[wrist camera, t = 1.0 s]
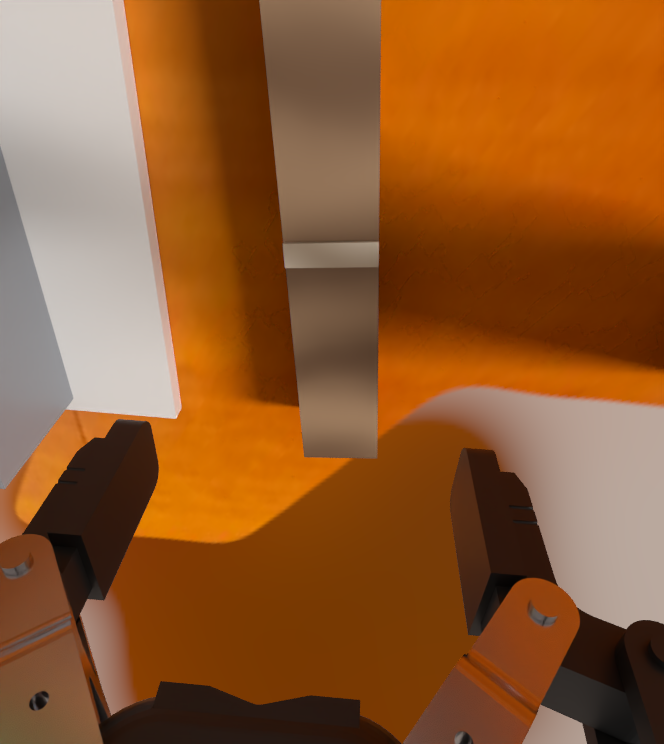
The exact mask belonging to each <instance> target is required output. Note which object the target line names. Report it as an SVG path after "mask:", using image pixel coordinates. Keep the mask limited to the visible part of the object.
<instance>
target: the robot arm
mask: <svg viewBox="0 0 664 744" xmlns="http://www.w3.org/2000/svg"><path fill="white" fill-rule="evenodd" d="M158 471H159V466H158V459H157V454H156V449H155V444H154V439H153V434H152V429H151V425H150V423H149V422H147V421H135V420H123V419H118V420H116V421H115V423H114V424H113V426H112V427H111V429H110V431H109V432H108V434H107V435H106V437H105V438H94V439H92V440H91V441H90V442H88V443H87V444H86V445H85V446H83V447H82V448H81V449H79V450H78V451H77V453H76V454H75V456H74V457H73V459H72V460H71V462H70V463H69V465H68V466H67V470H65V471H64V472H63V474H62V475H61V477H60V478H59V480H58V484H55V486H54V487H53V489H52V490H51V492H50V493H49V495H48V496H47V498H46V499H45V501H44V503H43V504H42V506H41V507H40V509H39V510H38V512H37V513H36V515H35V516H34V518H33V519H32V521H31V522H30V524H29V525H28V527H27V528H26V530H25V531H24V533H23V534H22V535H20V536H16V537H13V538H10V539H8V540H6V541H4V542H2V543H1V544H0V744H401V743H400V742H399V741H398V740H397V739H396V738H395V737H394V736H393V735H392V734H391V733H390V732H388V731H387V730H386V729H384V728H383V727H382V726H380V725H379V724H377V723H375V722H373V721H372V720H370V719H368V718H365V717H363V716H360V700H353V699H342V698H332V697H320V696H306V697H300V698H296V699H290V700H284V701H279V702H274V703H269V704H263V705H255V704H252V703H250V702H247V701H245V700H242V699H240V698H238V697H235V696H233V695H230V694H228V693H225V692H223V691H220V690H218V689H216V688H213V687H211V686H204V685H194V684H184V683H172V682H162V681H161V682H160V685H159V688H158V692H157V695H156V697H153V698H148V699H146V700H143V701H139V702H136V703H134V704H132V705H130V706H128V707H125V708H123V709H122V710H120V711H119V712H117V713H115V714H113V715H112V716H111V713H110V710H109V707H108V704H107V701H106V698H105V695H104V693H103V690H102V686H101V684H100V680H99V677H98V673H97V669H96V666H95V663H94V659H93V656H92V652H91V649H90V645H89V642H88V638H87V635H86V631H85V628H84V625H83V621H82V618H81V615H80V613H81V611H82V609H83V607H84V604H85V602H86V600H87V599H96V600H104V599H105V597H106V595H107V593H108V591H109V588H110V586H111V584H112V582H113V580H114V577H115V575H116V573H117V570H118V569H119V566H120V564H121V562H122V559H123V558H124V555H125V553H126V551H127V549H128V546H129V544H130V542H131V540H132V538H133V535H134V533H135V531H136V529H137V527H138V524H139V522H140V520H141V518H142V515H143V513H144V511H145V509H146V507H147V504H148V502H149V500H150V498H151V496H152V493H153V491H154V489H155V486H156V483H157V479H158ZM450 511H451V519H452V525H453V532H454V540H455V546H456V553H457V560H458V567H459V574H460V580H461V588H462V595H463V602H464V608H465V615H466V622H467V629H468V635H476V636H479V638H478V640H477V641H476V642H475V644H474V645H473V647H472V648H471V650H470V651H469V653H468V654H467V655H465V654H464V655H463V656H462V657H461V659H460V660H459V661H458V662H457V664H456V665H455V667H454V668H453V670H452V671H451V673H450V674H449V676H448V677H447V679H446V680H445V682H444V683H443V685H442V686H441V688H440V689H439V691H438V692H437V694H436V695H435V697H434V698H433V699H432V701H431V702H430V704H429V705H428V707H427V709H426V710H425V711H424V713H423V714H422V716H421V718H420V719H419V720H418V722H417V723H416V725H415V726H414V728H413V729H412V731H411V732H410V734H409V735H408V737H407V738H406V740H405V741H404V743H403V744H522V742H523V740H524V739H525V737H526V735H527V733H528V731H529V729H530V727H531V725H532V723H533V721H534V719H535V717H536V714H537V712H538V708H539V706H540V704H541V705H543V706H545V707H547V708H550V709H552V710H554V711H557V712H559V713H561V714H563V715H565V716H568V717H570V718H572V719H574V720H577V721H579V722H581V723H583V728H584V732H585V736H586V741H587V744H664V624H661V623H659V622H655V621H650V620H641V621H637V622H634V623H633V624H631V625H630V626H629V627H628V628H627V629H624V628H621V627H619V626H616V625H614V624H611V623H608V622H606V621H603V620H601V619H598V618H595V617H593V616H591V615H589V614H587V613H585V612H583V611H581V610H580V609H579V608H577V607H576V605H575V603H574V602H573V600H572V599H571V597H570V596H569V595H568V594H567V593H566V592H565V591H564V590H563V589H561V588H560V587H558V585H557V583H556V580H555V577H554V574H553V571H552V568H551V565H550V561H549V558H548V555H547V551H546V548H545V545H544V542H543V538H542V535H541V532H540V529H539V526H538V525H537V519H536V516H535V512H534V511H533V506H532V503H531V500H530V496H529V493H528V490H527V488H526V487H525V486H524V485H523V483H522V482H521V481H520V480H519V478H518V477H517V476H516V475H515V473H511V472H500V469H499V465H498V462H497V458H496V454H495V452H494V451H493V450H484V449H471V448H463V449H462V451H461V454H460V458H459V462H458V466H457V470H456V474H455V478H454V482H453V486H452V490H451V499H450Z"/></svg>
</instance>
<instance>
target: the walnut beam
mask: <svg viewBox="0 0 664 744" xmlns="http://www.w3.org/2000/svg"><path fill="white" fill-rule="evenodd" d="M259 3H260V13H261V24H262V34H263V44H264V54H265V64H266V74H267V84H268V94H269V104H270V115H271V125H272V135H273V145H274V155H275V165H276V175H277V185H278V195H279V206H280V216H281V226H282V236H283V254H284V264H285V268H286V276H287V287H288V297H289V307H290V317H291V327H292V337H293V347H294V357H295V367H296V378H297V388H298V398H299V408H300V418H301V428H302V438H303V448H304V457H327V458H377V415H378V296H379V178H380V60H381V0H259Z"/></svg>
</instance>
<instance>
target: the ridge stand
mask: <svg viewBox="0 0 664 744" xmlns="http://www.w3.org/2000/svg"><path fill="white" fill-rule="evenodd" d="M181 408H182V406H181V399H180V392H179V385H178V378H177V372H176V365H175V358H174V351H173V344H172V337H171V330H170V323H169V316H168V309H167V302H166V295H165V288H164V281H163V274H162V267H161V260H160V253H159V246H158V239H157V232H156V225H155V218H154V211H153V204H152V197H151V190H150V183H149V176H148V169H147V162H146V155H145V148H144V141H143V134H142V127H141V120H140V113H139V106H138V99H137V92H136V85H135V78H134V71H133V64H132V57H131V50H130V43H129V36H128V29H127V22H126V15H125V8H124V1H123V0H0V489H5V488H6V487H7V486H8V485H9V483H10V482H11V481H12V479H13V478H14V477H15V475H16V474H17V473H18V471H19V470H20V469H21V467H22V466H23V465H24V464H25V462H26V461H27V460H28V458H29V457H30V456H31V454H32V453H33V452H34V450H35V449H36V448H37V446H38V445H39V444H40V442H41V441H42V440H43V438H44V437H45V436H46V434H47V433H48V432H49V430H50V429H51V428H52V427H53V425H54V424H55V423H56V421H57V420H58V419H59V417H60V416H61V415H62V413H63V412H64V411H65V409H68V410H80V411H92V412H104V413H115V414H127V415H139V416H151V417H163V418H174V419H176V418H177V416H178V414H179V412H180V410H181Z"/></svg>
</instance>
